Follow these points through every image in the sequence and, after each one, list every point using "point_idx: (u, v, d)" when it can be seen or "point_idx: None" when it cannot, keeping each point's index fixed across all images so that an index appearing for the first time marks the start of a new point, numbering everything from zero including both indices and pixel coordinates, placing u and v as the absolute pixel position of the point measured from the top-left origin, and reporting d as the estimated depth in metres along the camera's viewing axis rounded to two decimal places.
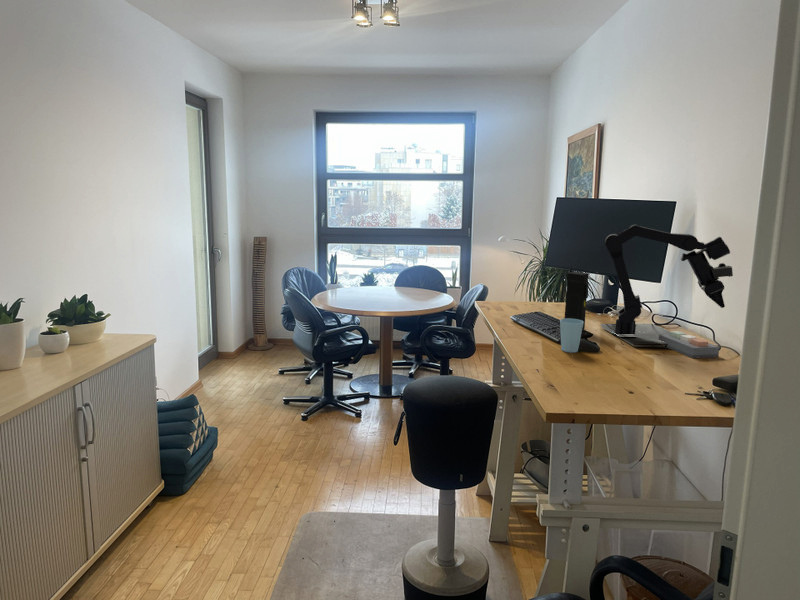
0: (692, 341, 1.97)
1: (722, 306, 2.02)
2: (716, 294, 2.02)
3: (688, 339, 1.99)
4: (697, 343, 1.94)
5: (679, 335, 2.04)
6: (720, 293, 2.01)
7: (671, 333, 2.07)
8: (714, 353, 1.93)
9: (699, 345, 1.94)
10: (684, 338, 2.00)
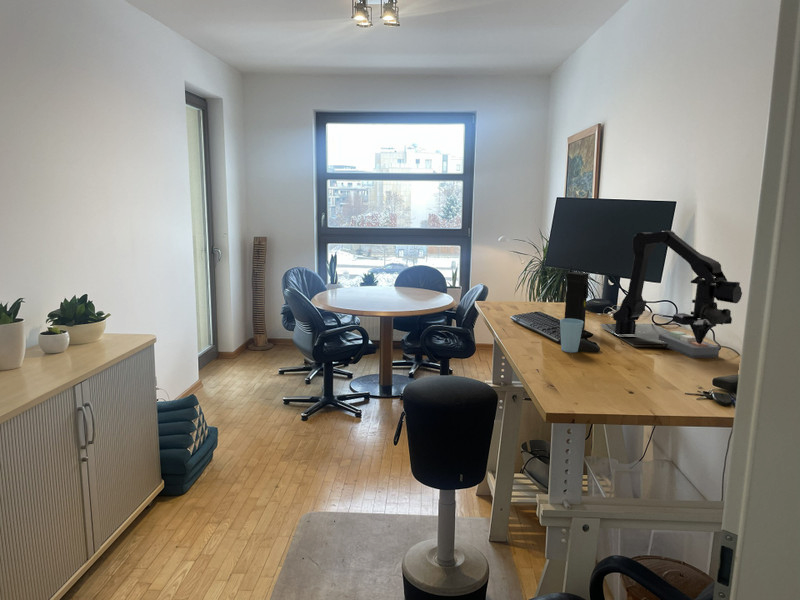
0: None
1: (697, 341, 1.96)
2: (697, 327, 1.94)
3: (688, 339, 1.99)
4: None
5: (679, 335, 2.04)
6: (698, 329, 1.93)
7: (671, 333, 2.07)
8: (714, 353, 1.93)
9: None
10: (684, 338, 2.00)
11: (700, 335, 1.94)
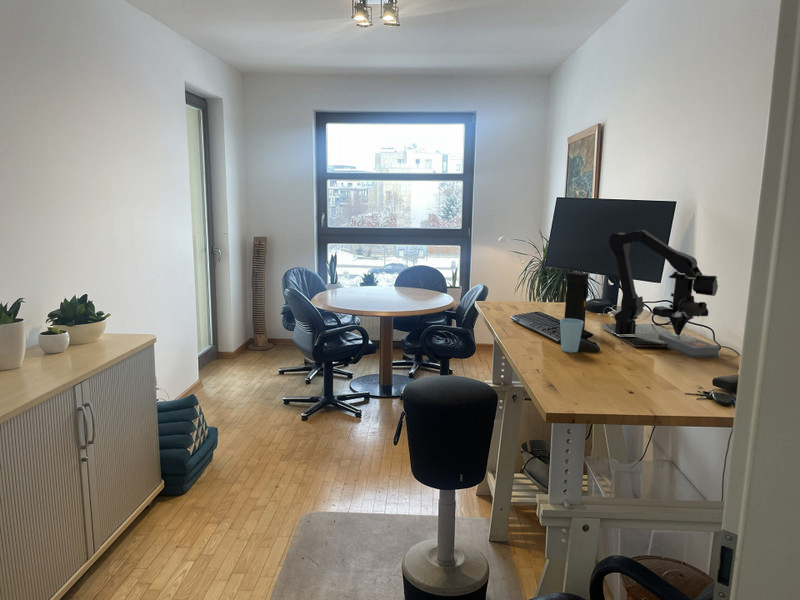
0: None
1: (676, 333, 2.06)
2: (675, 320, 2.05)
3: (688, 339, 1.99)
4: None
5: (679, 337, 2.04)
6: (676, 321, 2.04)
7: (671, 335, 2.07)
8: (714, 353, 1.93)
9: None
10: (684, 338, 2.00)
11: (678, 327, 2.04)
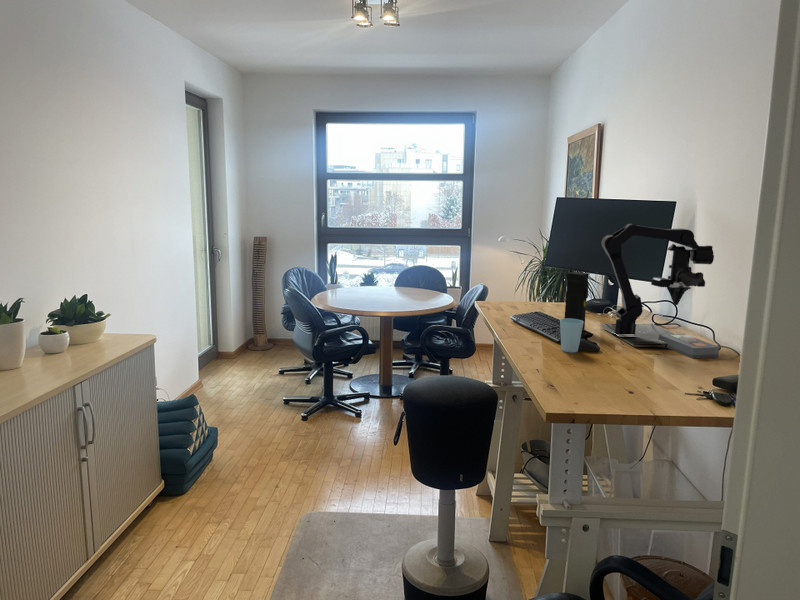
0: None
1: (674, 303, 2.15)
2: (673, 290, 2.13)
3: (688, 339, 1.99)
4: None
5: None
6: (674, 291, 2.12)
7: None
8: (714, 353, 1.93)
9: None
10: (684, 338, 2.00)
11: (676, 297, 2.13)
